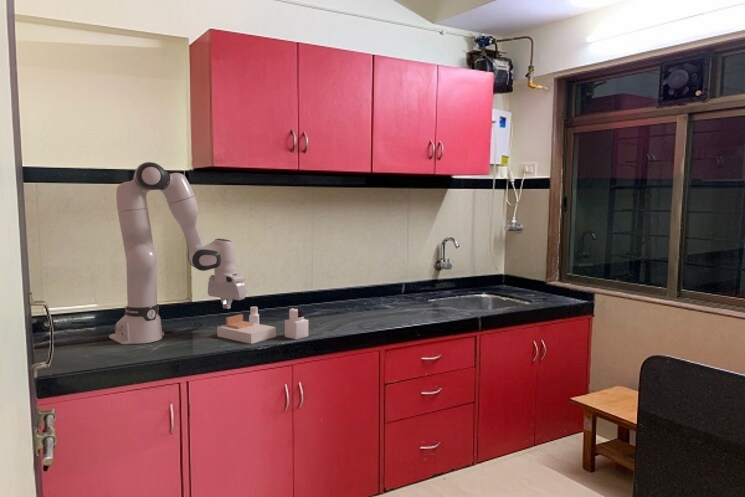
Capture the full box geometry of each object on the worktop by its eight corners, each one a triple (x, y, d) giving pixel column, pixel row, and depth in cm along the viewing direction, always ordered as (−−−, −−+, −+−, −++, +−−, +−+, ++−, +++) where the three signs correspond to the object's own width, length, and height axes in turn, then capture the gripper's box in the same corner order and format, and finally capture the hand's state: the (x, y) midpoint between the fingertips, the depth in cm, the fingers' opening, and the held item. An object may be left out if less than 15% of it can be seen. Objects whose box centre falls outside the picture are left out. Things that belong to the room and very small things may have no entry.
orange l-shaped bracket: (226, 326, 232) (225, 317, 232) (241, 322, 239) (241, 314, 239) (238, 328, 228) (238, 320, 228) (253, 324, 235) (253, 316, 235)
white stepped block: (297, 333, 237) (296, 306, 236) (308, 336, 233) (308, 308, 232) (284, 336, 232) (284, 308, 231) (296, 339, 227) (296, 311, 226)
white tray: (217, 336, 232) (217, 326, 231) (242, 329, 243) (242, 320, 243) (251, 343, 221) (251, 333, 220) (276, 336, 232) (275, 327, 232)
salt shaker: (258, 329, 245) (258, 308, 244) (249, 329, 244) (248, 308, 243) (259, 327, 249) (259, 306, 248) (250, 327, 248) (249, 306, 247)
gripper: (203, 275, 240) (204, 307, 242) (236, 279, 229) (237, 312, 230) (214, 273, 245) (216, 304, 247) (247, 277, 234) (248, 309, 236)
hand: (226, 308), depth 239 cm, fingers closed
